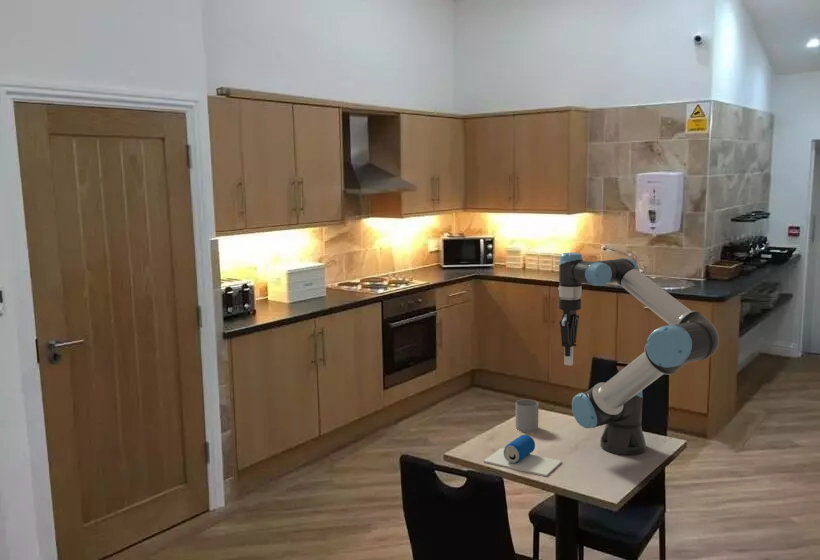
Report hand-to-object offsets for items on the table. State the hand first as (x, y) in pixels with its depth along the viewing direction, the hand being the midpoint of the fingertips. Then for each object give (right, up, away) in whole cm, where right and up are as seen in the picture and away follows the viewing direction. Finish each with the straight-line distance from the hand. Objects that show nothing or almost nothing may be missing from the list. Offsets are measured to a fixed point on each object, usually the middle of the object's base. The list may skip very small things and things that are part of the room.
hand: (568, 364), depth 249 cm
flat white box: (-18, -31, -13) cm, 38 cm away
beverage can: (-15, -26, -6) cm, 31 cm away
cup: (-11, -26, +19) cm, 34 cm away
